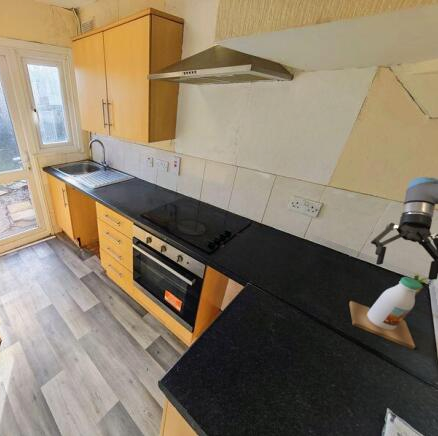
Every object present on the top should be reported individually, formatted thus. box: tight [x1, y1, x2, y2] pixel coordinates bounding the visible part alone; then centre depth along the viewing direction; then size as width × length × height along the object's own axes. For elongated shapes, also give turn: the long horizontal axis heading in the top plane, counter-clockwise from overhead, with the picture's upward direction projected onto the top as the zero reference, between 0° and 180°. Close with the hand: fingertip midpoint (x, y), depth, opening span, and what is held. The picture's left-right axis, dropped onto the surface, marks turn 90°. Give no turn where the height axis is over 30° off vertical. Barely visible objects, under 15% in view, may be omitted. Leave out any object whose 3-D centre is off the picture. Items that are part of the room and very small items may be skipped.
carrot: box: [413, 273, 429, 296], centre depth 89 cm, size 5×5×15 cm
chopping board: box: [348, 300, 416, 350], centre depth 83 cm, size 16×12×2 cm
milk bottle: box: [367, 276, 423, 330], centre depth 78 cm, size 8×8×20 cm
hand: (404, 271), depth 79 cm, fingers open, 13 cm apart
